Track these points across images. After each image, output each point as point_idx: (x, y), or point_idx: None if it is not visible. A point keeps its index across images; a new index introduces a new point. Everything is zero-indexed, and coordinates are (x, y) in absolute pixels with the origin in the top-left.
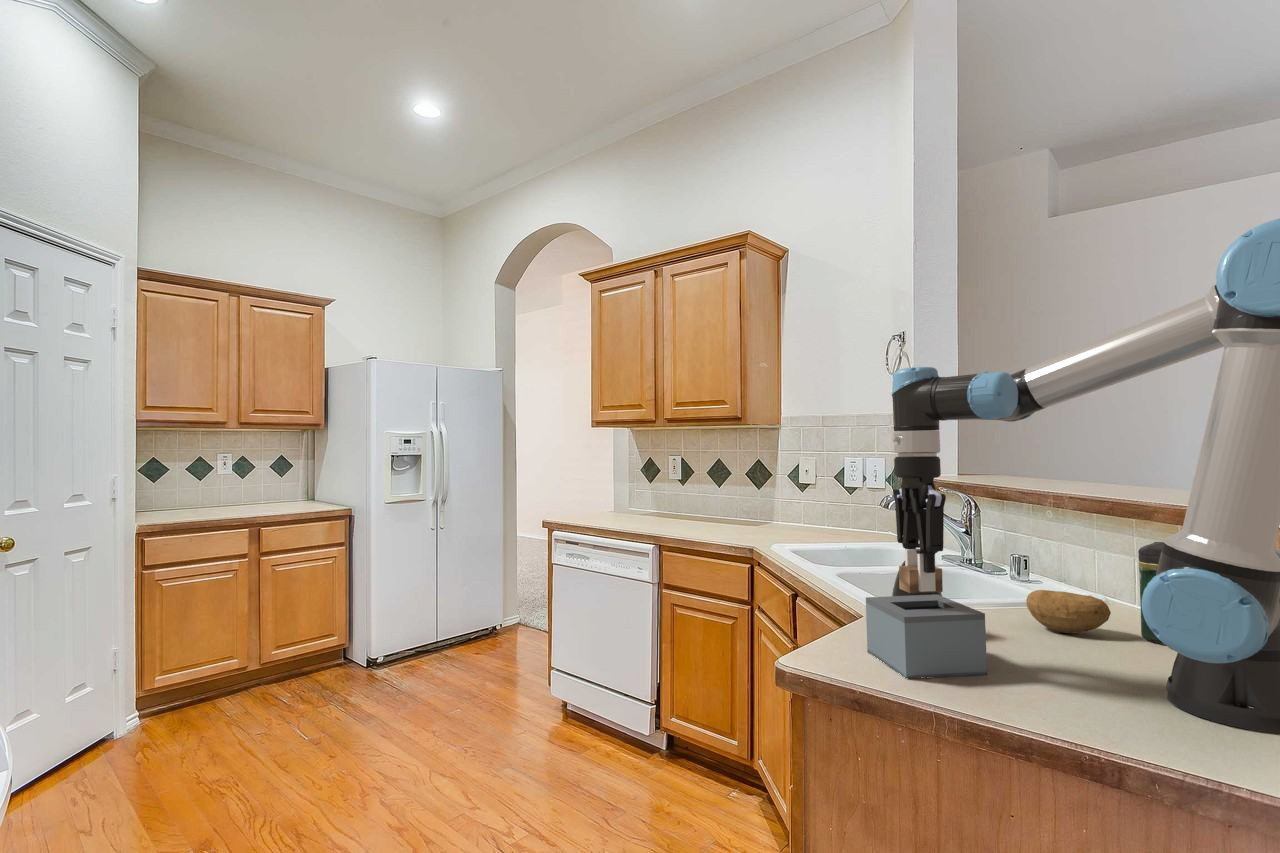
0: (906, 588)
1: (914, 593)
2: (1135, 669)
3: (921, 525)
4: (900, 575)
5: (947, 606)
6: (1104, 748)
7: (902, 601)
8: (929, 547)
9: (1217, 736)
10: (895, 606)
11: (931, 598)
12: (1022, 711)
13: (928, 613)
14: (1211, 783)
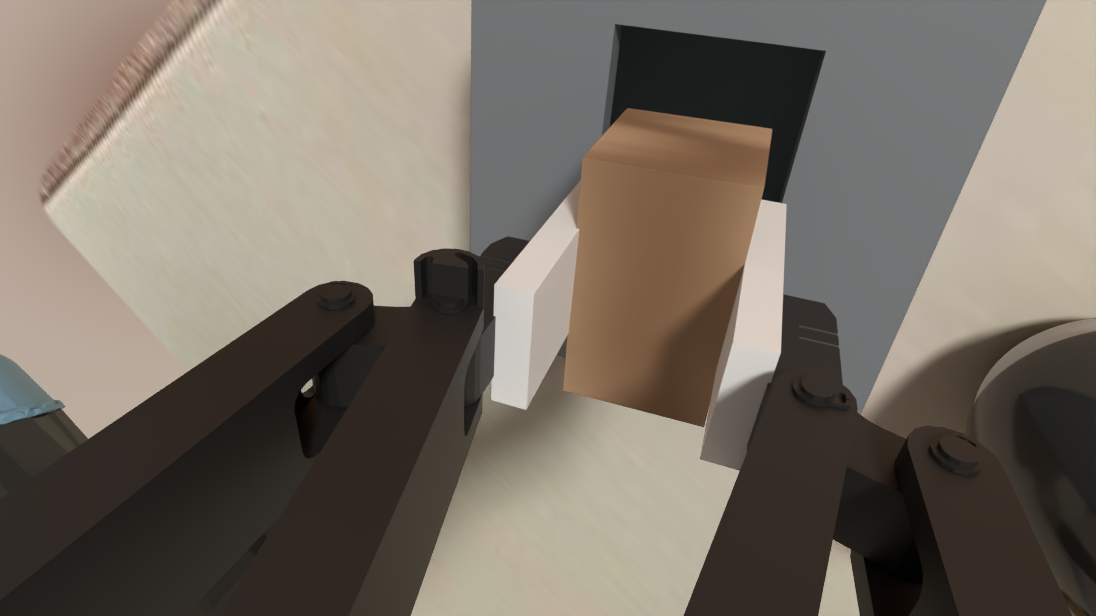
0: (667, 119)
1: (1091, 449)
2: (510, 541)
3: (305, 488)
4: (745, 157)
5: None
6: (139, 112)
7: (806, 149)
8: (303, 296)
9: (214, 345)
10: (711, 15)
11: None
12: (302, 103)
13: (517, 103)
14: (51, 165)
